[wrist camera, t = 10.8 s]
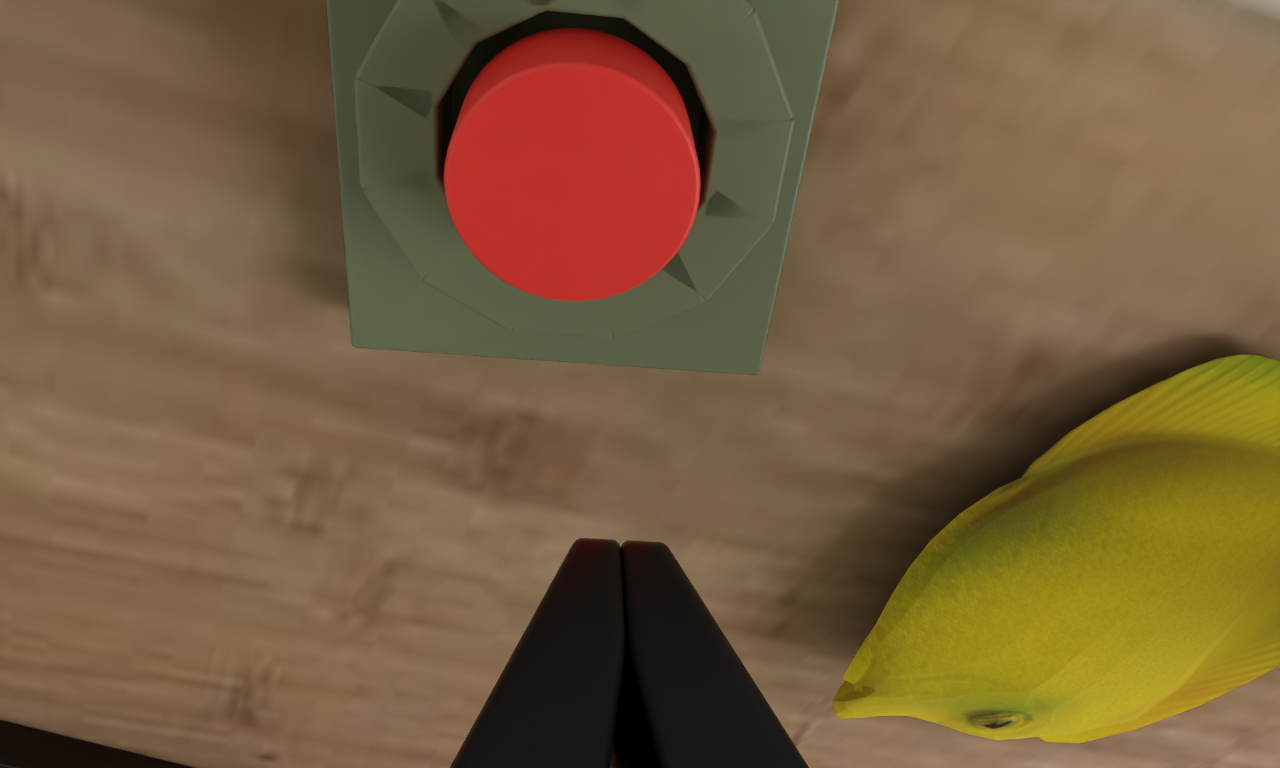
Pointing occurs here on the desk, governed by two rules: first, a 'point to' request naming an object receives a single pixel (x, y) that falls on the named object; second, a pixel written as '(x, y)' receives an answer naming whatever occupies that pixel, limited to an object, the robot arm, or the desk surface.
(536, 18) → the button block
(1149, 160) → the desk surface
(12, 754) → the bracket
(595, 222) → the button
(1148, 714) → the fish
